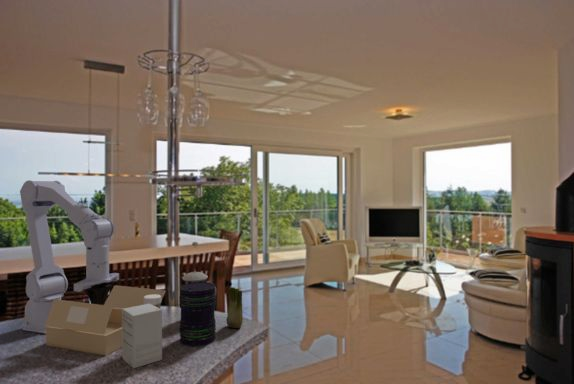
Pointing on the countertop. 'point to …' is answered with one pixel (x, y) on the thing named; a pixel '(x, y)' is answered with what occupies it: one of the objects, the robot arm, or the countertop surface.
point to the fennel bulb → (235, 308)
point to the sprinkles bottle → (152, 300)
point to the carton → (89, 337)
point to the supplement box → (141, 335)
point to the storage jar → (197, 314)
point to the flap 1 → (79, 316)
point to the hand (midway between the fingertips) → (97, 311)
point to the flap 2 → (129, 296)
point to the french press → (195, 275)
